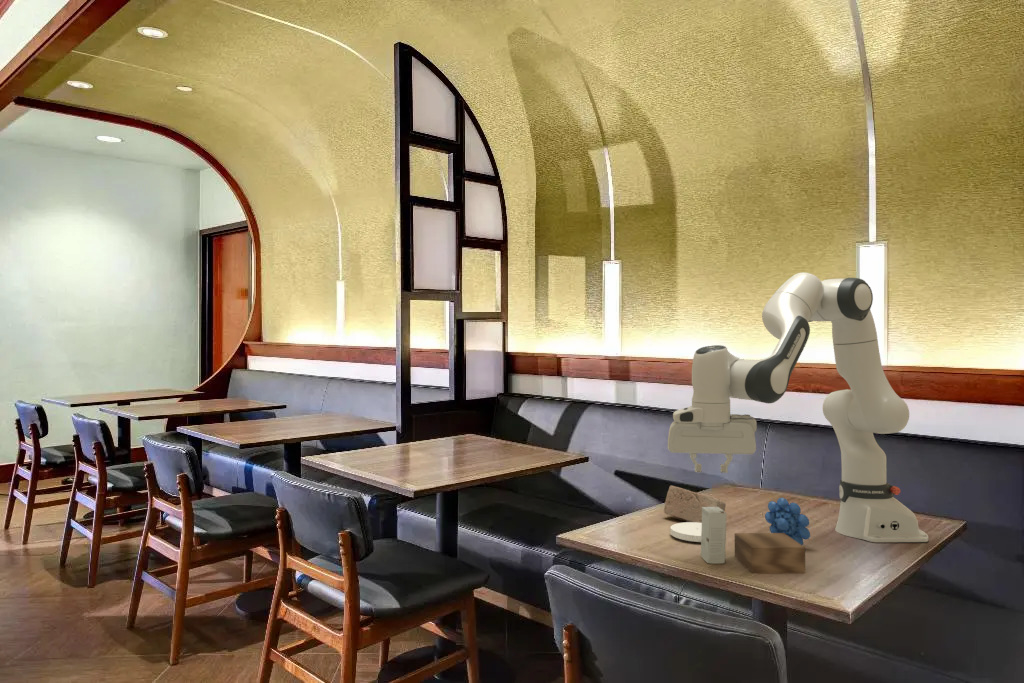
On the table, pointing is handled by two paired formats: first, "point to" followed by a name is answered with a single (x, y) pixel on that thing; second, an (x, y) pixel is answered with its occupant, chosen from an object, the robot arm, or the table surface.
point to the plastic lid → (687, 531)
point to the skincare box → (713, 535)
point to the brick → (689, 504)
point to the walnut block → (769, 553)
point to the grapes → (787, 520)
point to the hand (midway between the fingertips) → (711, 472)
